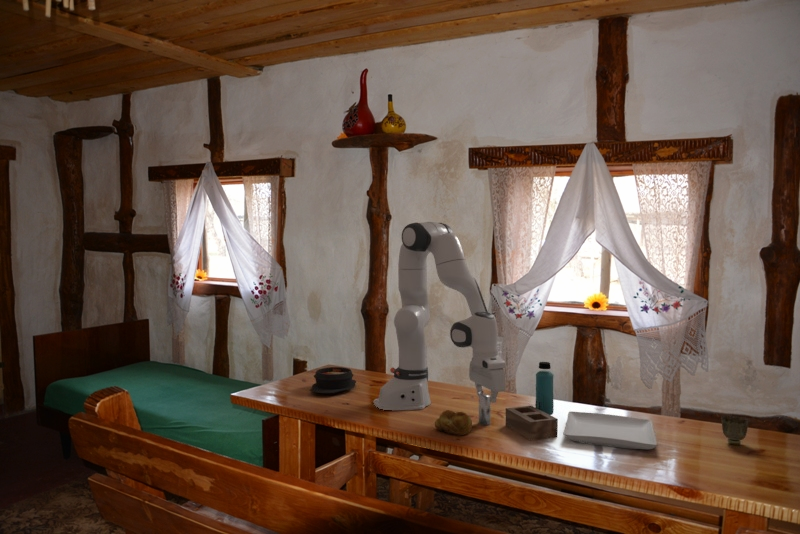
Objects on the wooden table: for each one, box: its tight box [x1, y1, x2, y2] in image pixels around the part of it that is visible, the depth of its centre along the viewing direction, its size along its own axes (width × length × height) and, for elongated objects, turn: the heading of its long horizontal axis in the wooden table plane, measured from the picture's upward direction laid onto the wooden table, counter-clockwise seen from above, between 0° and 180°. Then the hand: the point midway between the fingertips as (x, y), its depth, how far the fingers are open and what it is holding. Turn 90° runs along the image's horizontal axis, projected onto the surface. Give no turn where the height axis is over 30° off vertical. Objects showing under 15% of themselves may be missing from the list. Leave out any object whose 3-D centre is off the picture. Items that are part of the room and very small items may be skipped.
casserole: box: [309, 366, 357, 395], centre depth 245 cm, size 25×19×8 cm
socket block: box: [505, 405, 559, 442], centre depth 191 cm, size 10×16×6 cm, turn 19°
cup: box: [720, 415, 749, 446], centre depth 179 cm, size 8×7×8 cm
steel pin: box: [478, 393, 492, 426], centre depth 199 cm, size 4×4×10 cm
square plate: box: [563, 411, 658, 450], centre depth 187 cm, size 27×27×4 cm
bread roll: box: [434, 409, 473, 436], centre depth 191 cm, size 13×10×8 cm
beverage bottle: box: [534, 361, 555, 416], centre depth 207 cm, size 6×7×20 cm
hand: (486, 398), depth 198 cm, fingers open, 8 cm apart
